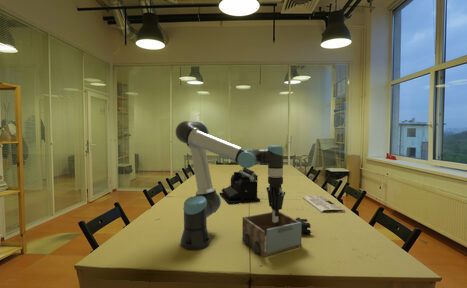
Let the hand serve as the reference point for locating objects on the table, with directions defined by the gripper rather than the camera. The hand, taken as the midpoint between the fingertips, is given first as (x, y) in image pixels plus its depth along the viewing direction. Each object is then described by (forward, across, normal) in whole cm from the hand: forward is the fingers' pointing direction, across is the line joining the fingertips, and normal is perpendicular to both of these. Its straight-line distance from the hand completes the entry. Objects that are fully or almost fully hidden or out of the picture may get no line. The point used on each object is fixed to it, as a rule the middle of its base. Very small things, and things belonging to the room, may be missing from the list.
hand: (275, 221), depth 117 cm
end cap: (+13, +6, -24) cm, 28 cm away
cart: (+12, +3, 0) cm, 13 cm away
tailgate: (+10, -7, 0) cm, 12 cm away
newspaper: (+13, +38, -73) cm, 83 cm away
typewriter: (+12, +83, -22) cm, 87 cm away
